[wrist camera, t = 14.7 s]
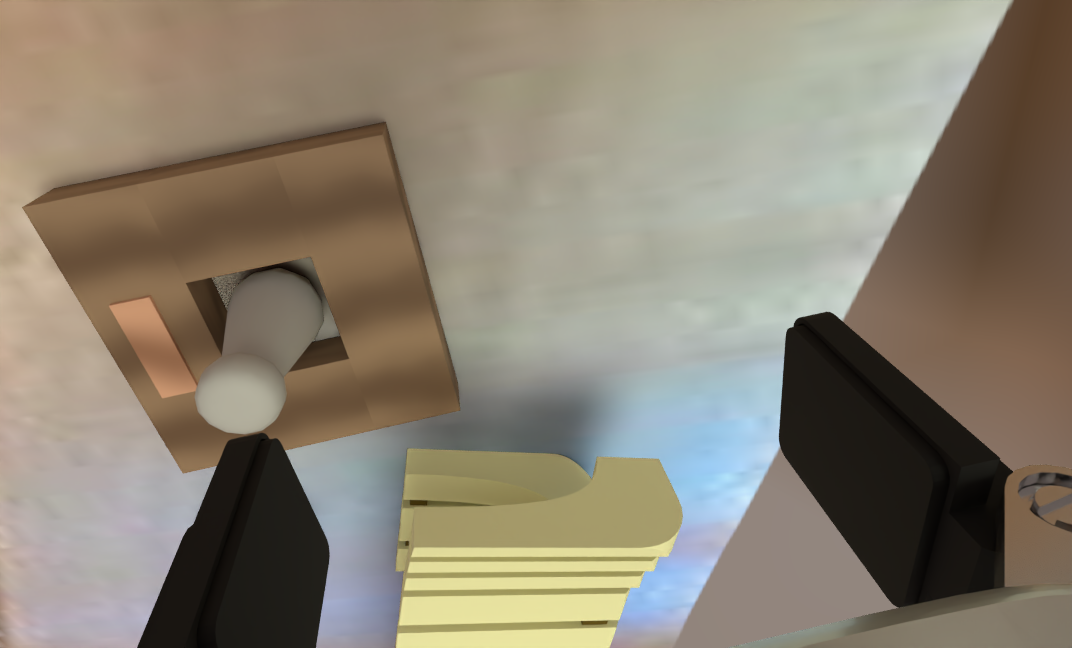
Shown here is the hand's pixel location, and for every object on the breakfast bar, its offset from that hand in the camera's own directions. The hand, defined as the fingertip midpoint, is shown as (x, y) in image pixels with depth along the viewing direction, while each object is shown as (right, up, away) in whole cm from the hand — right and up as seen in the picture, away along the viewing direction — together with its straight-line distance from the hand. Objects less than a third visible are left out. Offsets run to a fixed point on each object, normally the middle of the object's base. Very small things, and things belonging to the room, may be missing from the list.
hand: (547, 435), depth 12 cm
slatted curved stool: (-4, -14, +45) cm, 47 cm away
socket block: (-18, +4, +32) cm, 36 cm away
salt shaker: (-18, +4, +32) cm, 37 cm away
